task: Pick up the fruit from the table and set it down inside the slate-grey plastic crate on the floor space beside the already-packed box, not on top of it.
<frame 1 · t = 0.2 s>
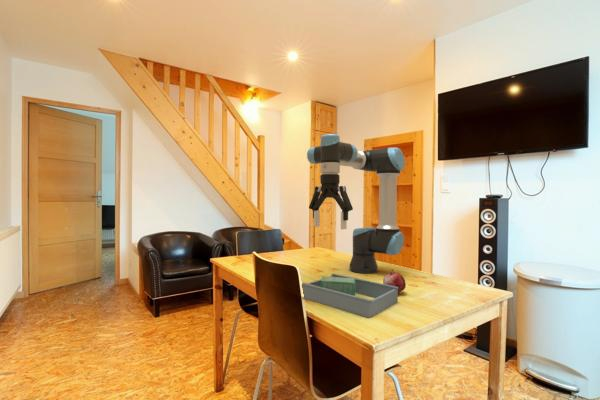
hand: (329, 227, 124), 28 cm above the table, fingers open, 13 cm apart
fruit: (394, 293, 130), on the table
crate: (348, 299, 121), on the table
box: (338, 298, 124), resting in crate
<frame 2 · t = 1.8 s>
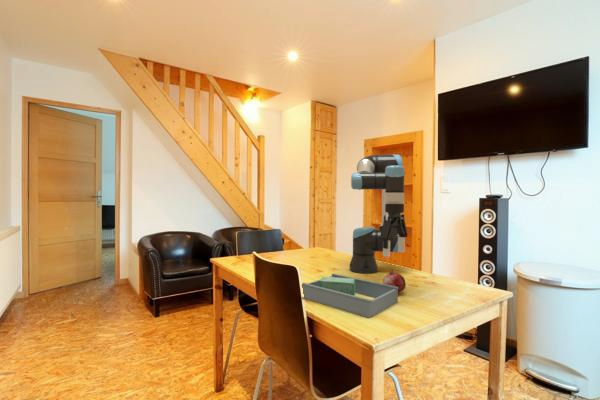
hand: (394, 254, 129), 16 cm above the table, fingers open, 13 cm apart
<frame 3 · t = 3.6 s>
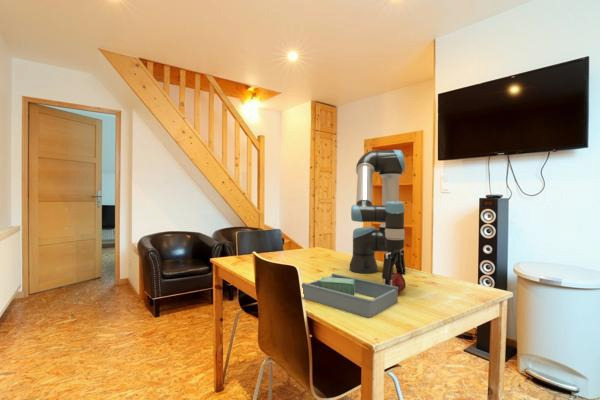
hand: (394, 292, 130), 0 cm above the table, fingers closed on fruit, 9 cm apart
fruit: (393, 293, 130), on the table, touching gripper
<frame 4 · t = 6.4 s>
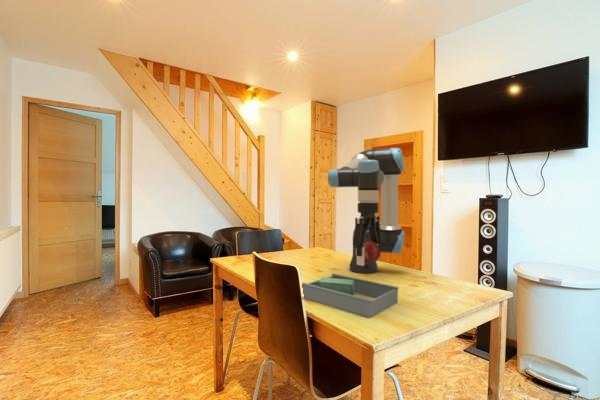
hand: (367, 262, 116), 16 cm above the table, fingers closed on fruit, 9 cm apart
fruit: (367, 263, 115), point 15 cm above the table, touching gripper
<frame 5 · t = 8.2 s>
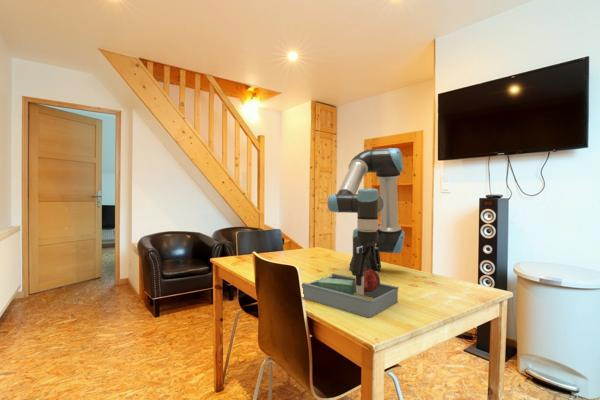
hand: (367, 291, 116), 5 cm above the table, fingers closed on fruit, 9 cm apart
fruit: (367, 292, 116), point 5 cm above the table, touching gripper
when the fingers open (3 cm above the table, at t = 9.2 s): fruit drops 3 cm, resting in crate.
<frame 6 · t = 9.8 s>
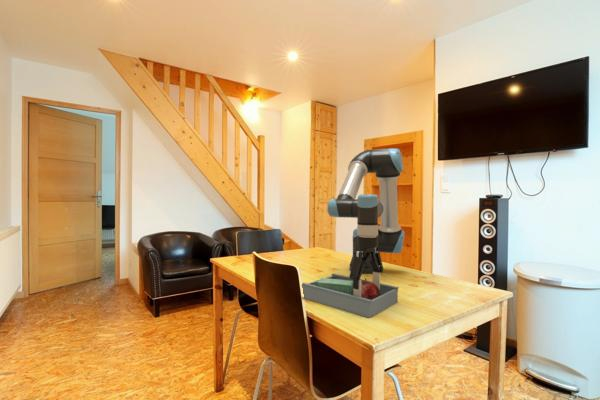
hand: (367, 293, 116), 4 cm above the table, fingers open, 13 cm apart
fruit: (367, 305, 116), resting in crate
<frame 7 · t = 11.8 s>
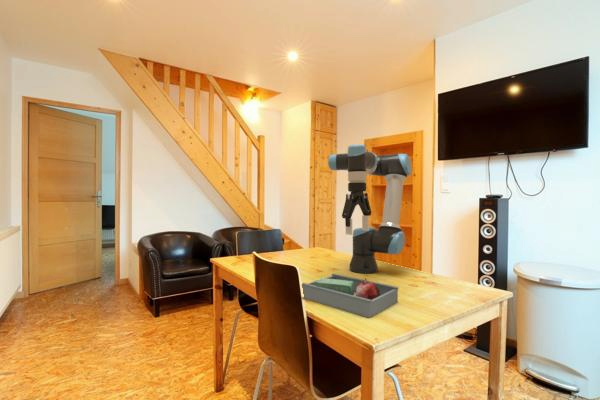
hand: (357, 232, 132), 25 cm above the table, fingers open, 13 cm apart
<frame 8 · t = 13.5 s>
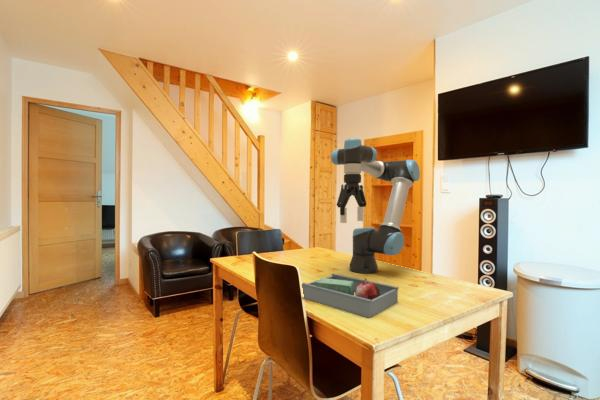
hand: (352, 222, 139), 29 cm above the table, fingers open, 13 cm apart
at the end: fruit inside the target area on the crate (1.0 cm from its centre), point 0.0 cm above the crate's base; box moved 3.8 cm from its start; the gripper is holding nothing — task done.
